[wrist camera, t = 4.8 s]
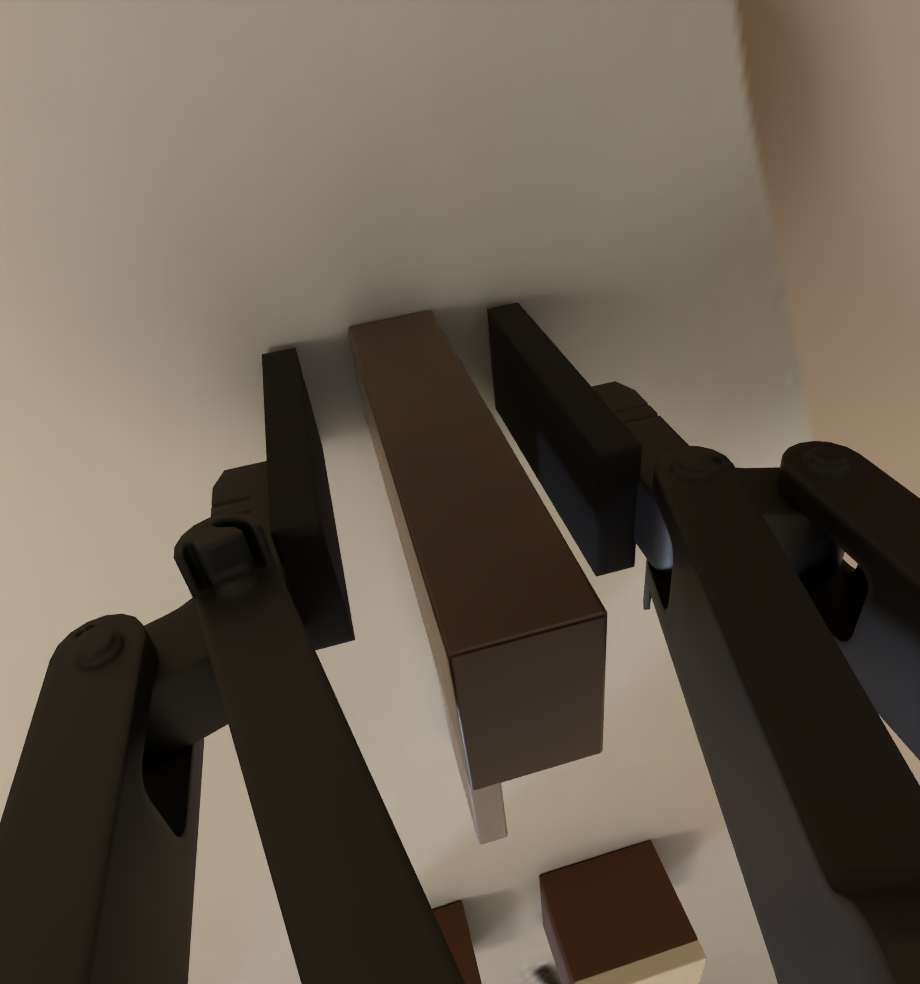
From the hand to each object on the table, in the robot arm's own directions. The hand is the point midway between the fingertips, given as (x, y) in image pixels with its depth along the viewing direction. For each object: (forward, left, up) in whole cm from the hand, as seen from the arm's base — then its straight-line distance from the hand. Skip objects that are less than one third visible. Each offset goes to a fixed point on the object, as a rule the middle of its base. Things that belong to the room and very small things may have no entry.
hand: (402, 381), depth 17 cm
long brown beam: (0, +7, 0) cm, 7 cm away
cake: (-6, +32, 0) cm, 32 cm away
